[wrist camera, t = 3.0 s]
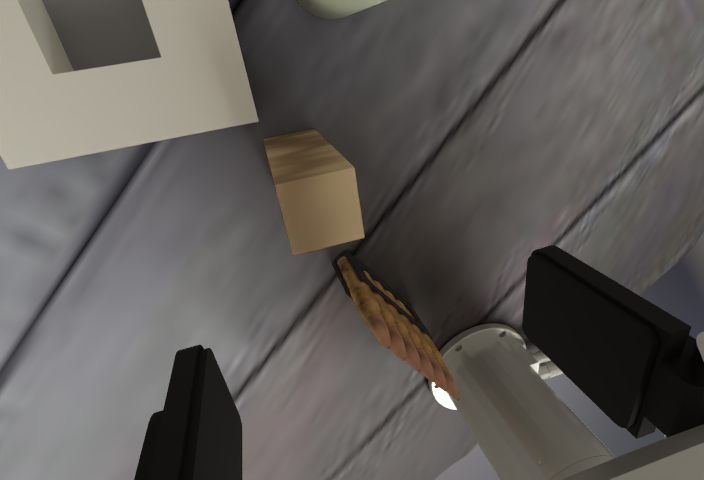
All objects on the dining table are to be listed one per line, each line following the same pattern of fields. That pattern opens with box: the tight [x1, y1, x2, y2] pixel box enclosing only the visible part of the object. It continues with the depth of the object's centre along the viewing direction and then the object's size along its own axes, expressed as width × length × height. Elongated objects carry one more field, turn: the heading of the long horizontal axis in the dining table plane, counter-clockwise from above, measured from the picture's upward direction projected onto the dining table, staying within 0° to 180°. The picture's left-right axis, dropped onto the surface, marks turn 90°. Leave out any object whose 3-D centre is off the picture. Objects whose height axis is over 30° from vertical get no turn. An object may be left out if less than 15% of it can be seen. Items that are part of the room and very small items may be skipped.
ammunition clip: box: [332, 250, 460, 401], centre depth 32 cm, size 11×2×12 cm, turn 42°
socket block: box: [0, 0, 259, 170], centre depth 21 cm, size 14×14×5 cm
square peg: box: [263, 129, 365, 256], centre depth 25 cm, size 4×4×12 cm
